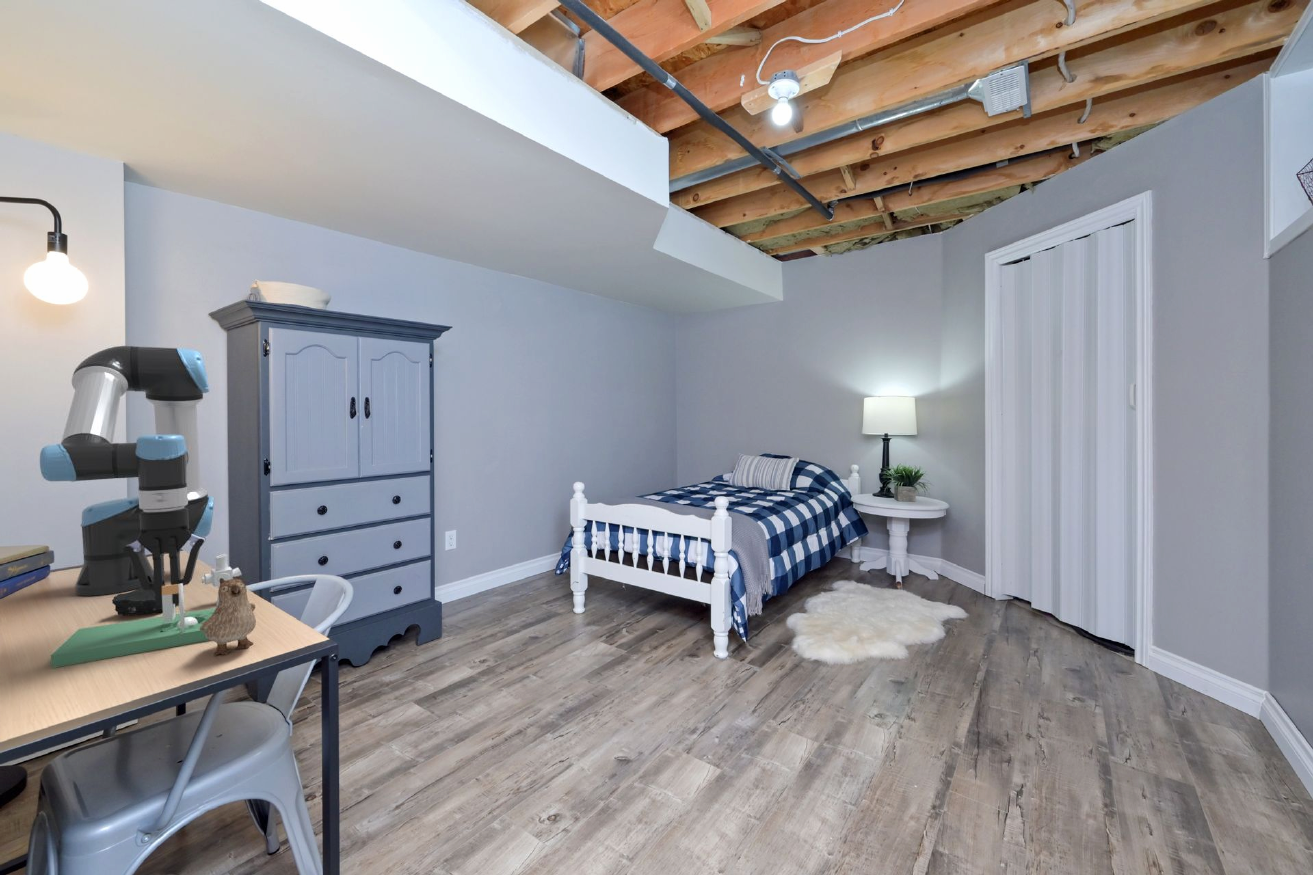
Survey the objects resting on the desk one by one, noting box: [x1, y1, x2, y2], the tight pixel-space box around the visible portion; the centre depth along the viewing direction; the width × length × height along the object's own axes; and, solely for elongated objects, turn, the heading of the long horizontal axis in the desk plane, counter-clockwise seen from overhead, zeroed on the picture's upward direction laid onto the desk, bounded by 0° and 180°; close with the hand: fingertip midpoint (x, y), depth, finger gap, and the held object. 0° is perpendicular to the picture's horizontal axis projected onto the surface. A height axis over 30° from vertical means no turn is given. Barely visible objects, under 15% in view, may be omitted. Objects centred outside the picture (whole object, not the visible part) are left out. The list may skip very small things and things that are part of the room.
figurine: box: [199, 574, 257, 656], centre depth 107 cm, size 9×10×15 cm
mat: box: [50, 583, 217, 669], centre depth 112 cm, size 14×24×12 cm, turn 122°
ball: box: [176, 617, 198, 627], centre depth 115 cm, size 4×4×4 cm
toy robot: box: [201, 553, 243, 607], centre depth 133 cm, size 4×8×12 cm, turn 138°
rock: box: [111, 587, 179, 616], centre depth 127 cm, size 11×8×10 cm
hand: (169, 619), depth 114 cm, fingers closed
